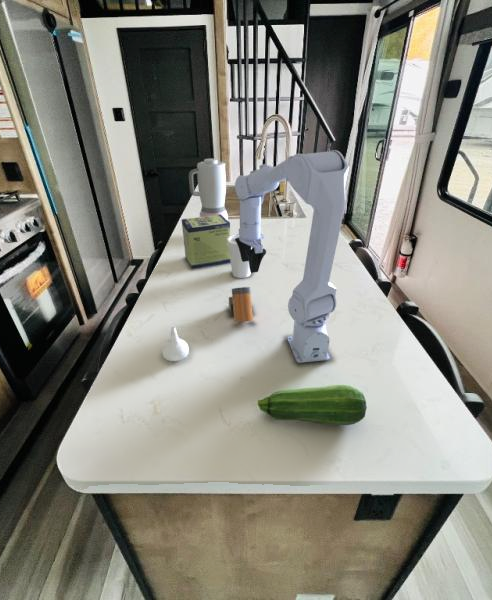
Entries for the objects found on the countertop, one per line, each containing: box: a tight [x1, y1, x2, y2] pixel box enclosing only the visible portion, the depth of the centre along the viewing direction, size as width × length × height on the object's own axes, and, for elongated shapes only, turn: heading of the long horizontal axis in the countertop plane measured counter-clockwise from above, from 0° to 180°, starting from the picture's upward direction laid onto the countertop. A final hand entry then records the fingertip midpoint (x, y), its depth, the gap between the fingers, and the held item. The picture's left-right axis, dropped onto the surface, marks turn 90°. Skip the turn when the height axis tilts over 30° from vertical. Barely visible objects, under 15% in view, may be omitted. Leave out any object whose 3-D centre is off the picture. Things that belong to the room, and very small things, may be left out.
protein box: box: [181, 214, 231, 270], centre depth 118 cm, size 10×16×16 cm
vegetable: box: [257, 384, 368, 426], centre depth 60 cm, size 7×7×20 cm
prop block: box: [228, 296, 253, 317], centre depth 91 cm, size 4×6×4 cm, turn 98°
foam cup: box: [227, 233, 252, 279], centre depth 109 cm, size 10×9×13 cm
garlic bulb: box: [161, 325, 190, 362], centre depth 75 cm, size 6×6×8 cm
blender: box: [188, 158, 229, 221], centre depth 133 cm, size 16×12×32 cm
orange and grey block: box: [231, 286, 254, 323], centre depth 86 cm, size 9×5×10 cm, turn 9°
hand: (249, 266), depth 94 cm, fingers open, 7 cm apart
